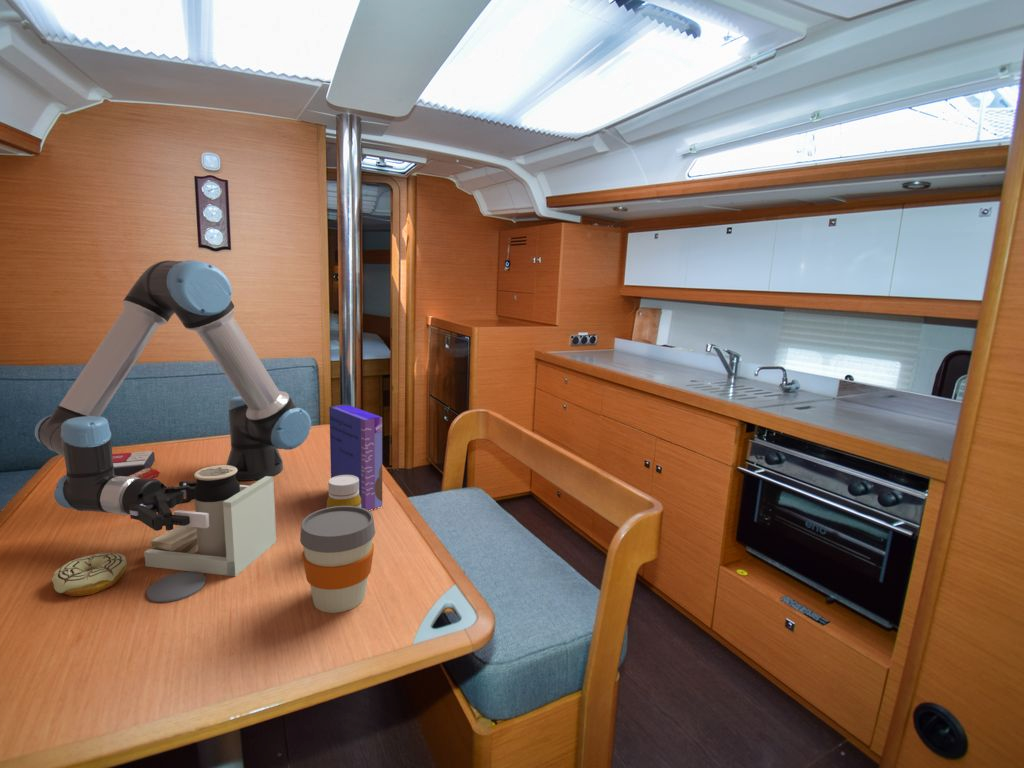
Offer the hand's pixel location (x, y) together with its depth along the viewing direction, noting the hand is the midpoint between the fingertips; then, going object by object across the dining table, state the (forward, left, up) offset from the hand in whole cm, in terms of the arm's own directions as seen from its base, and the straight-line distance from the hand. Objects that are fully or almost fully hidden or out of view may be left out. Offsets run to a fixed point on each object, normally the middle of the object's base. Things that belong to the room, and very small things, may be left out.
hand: (231, 505), depth 102 cm
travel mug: (+2, -2, -11) cm, 12 cm away
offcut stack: (+7, -9, -11) cm, 16 cm away
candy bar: (+10, -55, -12) cm, 57 cm away
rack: (+3, -4, -11) cm, 12 cm away
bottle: (-19, +10, -11) cm, 24 cm away
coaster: (+11, +5, -11) cm, 16 cm away
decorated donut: (+22, -6, -11) cm, 26 cm away
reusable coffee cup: (-10, +27, -11) cm, 31 cm away
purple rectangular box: (-32, -11, -11) cm, 36 cm away
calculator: (+10, -70, -12) cm, 71 cm away
